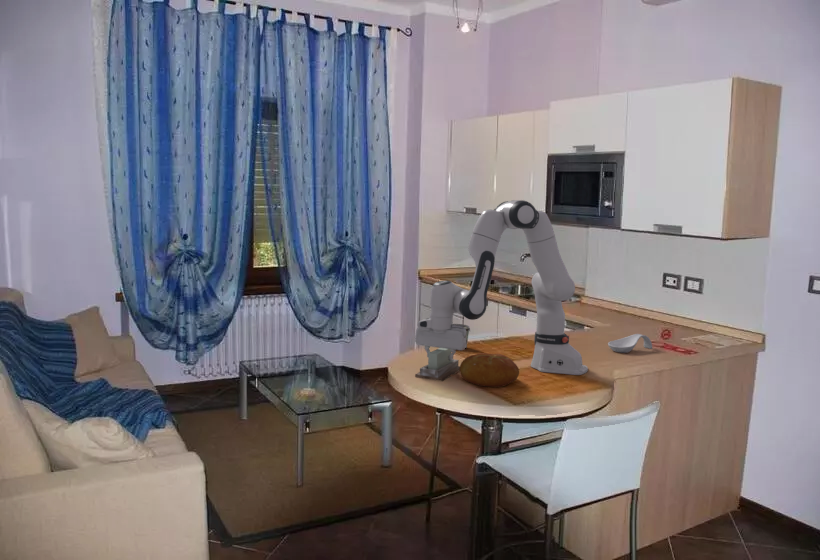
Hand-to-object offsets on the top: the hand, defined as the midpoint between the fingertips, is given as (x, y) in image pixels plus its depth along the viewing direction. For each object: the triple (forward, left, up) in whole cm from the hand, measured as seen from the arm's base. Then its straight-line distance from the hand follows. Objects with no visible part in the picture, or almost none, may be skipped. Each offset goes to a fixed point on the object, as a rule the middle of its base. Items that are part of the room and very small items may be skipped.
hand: (440, 358), depth 259 cm
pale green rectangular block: (0, 0, -5) cm, 5 cm away
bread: (-20, 0, -6) cm, 21 cm away
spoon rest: (-58, -84, -6) cm, 102 cm away
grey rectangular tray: (0, 0, -6) cm, 6 cm away
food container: (+12, -47, -6) cm, 49 cm away
